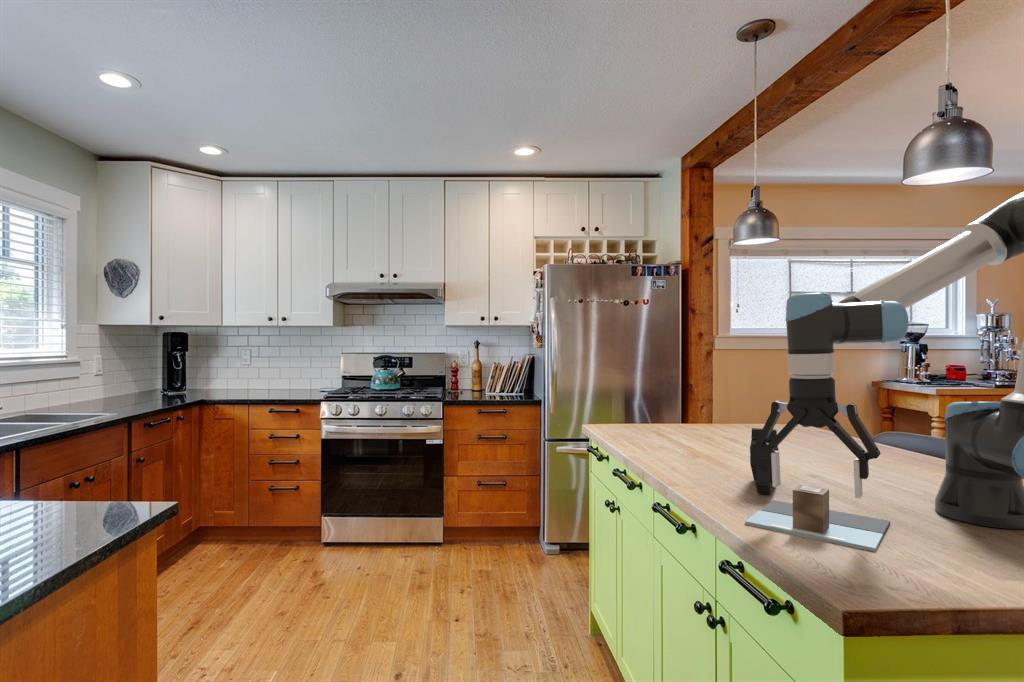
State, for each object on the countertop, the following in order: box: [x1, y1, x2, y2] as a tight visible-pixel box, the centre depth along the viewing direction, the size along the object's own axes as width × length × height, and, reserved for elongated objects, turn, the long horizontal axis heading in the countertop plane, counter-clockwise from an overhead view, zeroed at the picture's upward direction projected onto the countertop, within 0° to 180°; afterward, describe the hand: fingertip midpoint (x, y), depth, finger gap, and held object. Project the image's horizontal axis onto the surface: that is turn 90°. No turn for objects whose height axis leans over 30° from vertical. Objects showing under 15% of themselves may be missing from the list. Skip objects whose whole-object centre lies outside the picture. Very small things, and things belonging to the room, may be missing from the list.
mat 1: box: [760, 499, 891, 537], centre depth 108 cm, size 21×9×1 cm, turn 49°
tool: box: [749, 427, 779, 495], centre depth 132 cm, size 6×19×15 cm, turn 152°
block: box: [792, 484, 830, 534], centre depth 101 cm, size 5×5×7 cm
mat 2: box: [744, 509, 884, 553], centre depth 101 cm, size 21×9×1 cm, turn 49°
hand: (815, 491), depth 101 cm, fingers open, 13 cm apart
